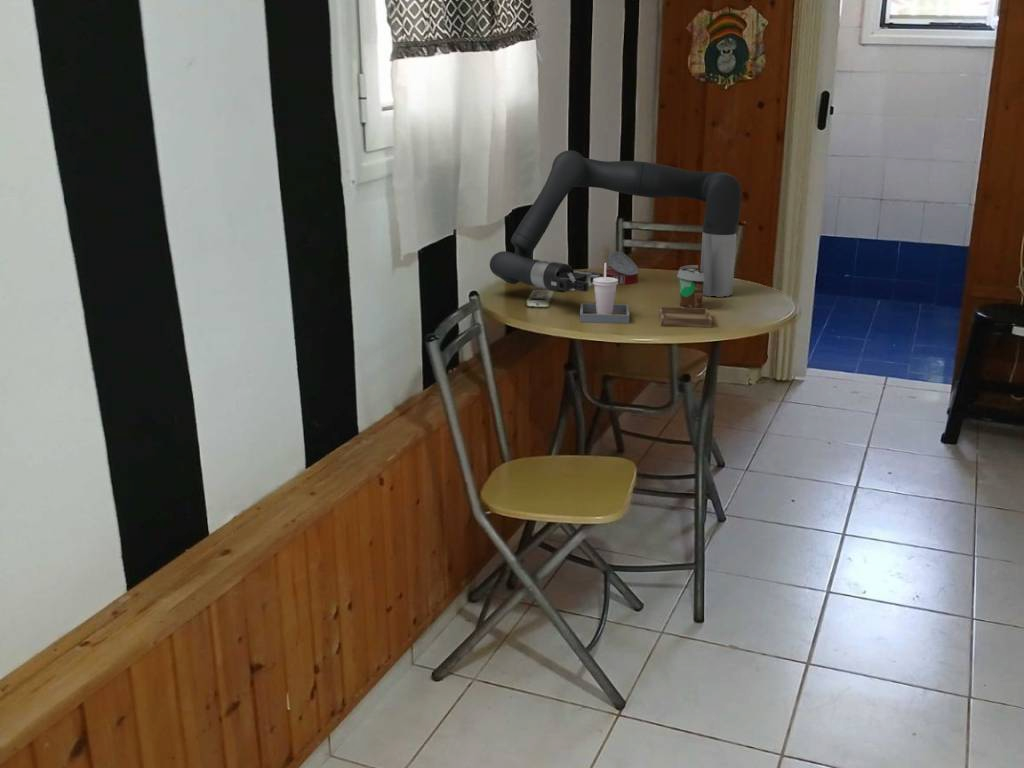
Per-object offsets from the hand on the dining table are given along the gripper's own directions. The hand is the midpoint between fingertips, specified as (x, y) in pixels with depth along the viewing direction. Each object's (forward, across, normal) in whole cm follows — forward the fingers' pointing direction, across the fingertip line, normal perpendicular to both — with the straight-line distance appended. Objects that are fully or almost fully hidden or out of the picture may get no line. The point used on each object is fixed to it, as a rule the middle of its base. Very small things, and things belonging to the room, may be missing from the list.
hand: (598, 285), depth 264 cm
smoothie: (+2, 0, +8) cm, 8 cm away
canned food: (-24, +38, +8) cm, 46 cm away
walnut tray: (+19, +11, +8) cm, 23 cm away
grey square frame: (+2, 0, +8) cm, 8 cm away
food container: (+9, +26, +8) cm, 28 cm away
